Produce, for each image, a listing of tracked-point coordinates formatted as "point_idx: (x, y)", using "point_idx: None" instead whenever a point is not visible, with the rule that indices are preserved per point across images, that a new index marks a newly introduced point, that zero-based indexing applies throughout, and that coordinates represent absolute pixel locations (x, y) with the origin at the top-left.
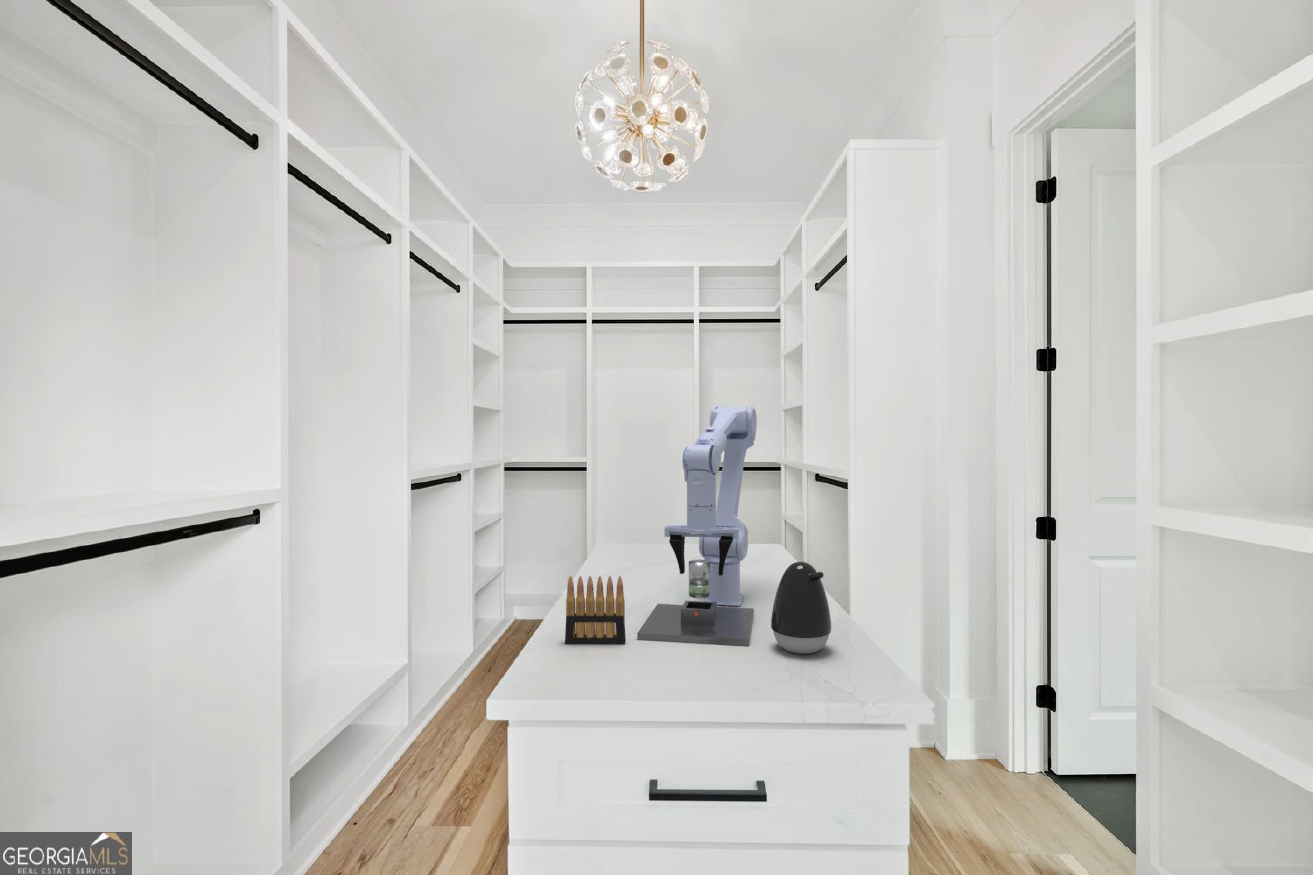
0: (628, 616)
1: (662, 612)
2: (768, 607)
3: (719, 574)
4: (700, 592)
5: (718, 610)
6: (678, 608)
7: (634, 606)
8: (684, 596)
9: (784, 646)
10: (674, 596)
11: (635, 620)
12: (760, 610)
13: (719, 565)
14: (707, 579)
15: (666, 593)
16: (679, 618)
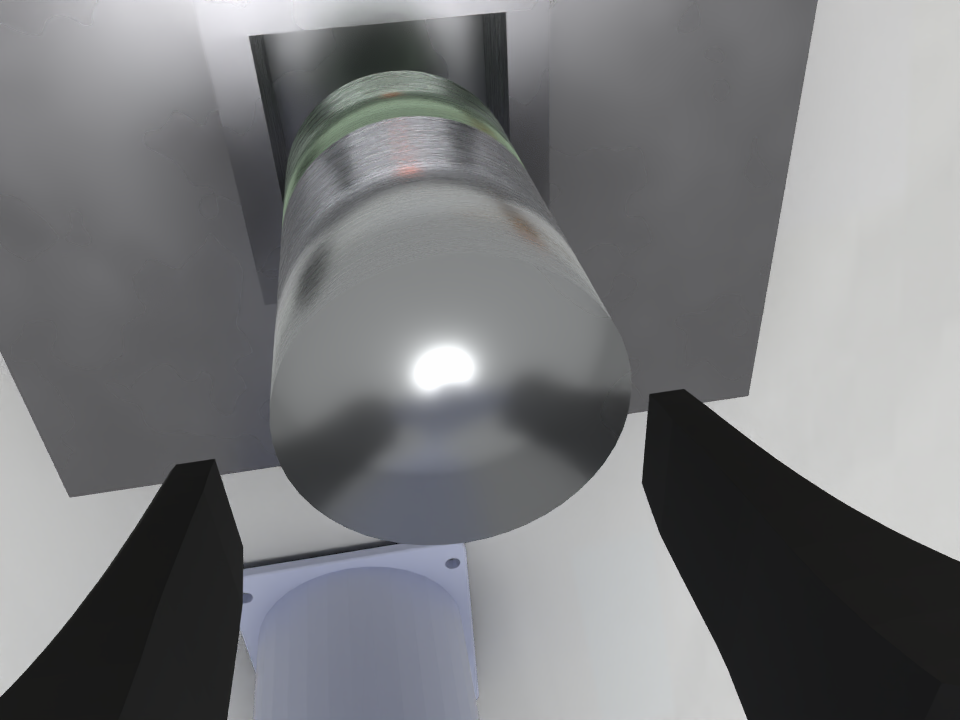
0: (923, 176)
1: (702, 218)
2: (49, 611)
3: (202, 466)
4: (363, 97)
5: None
6: None
7: (876, 385)
8: (598, 623)
9: None
10: (652, 607)
11: (877, 96)
12: (72, 549)
13: (178, 539)
14: (287, 228)
15: (700, 634)
16: (553, 98)
